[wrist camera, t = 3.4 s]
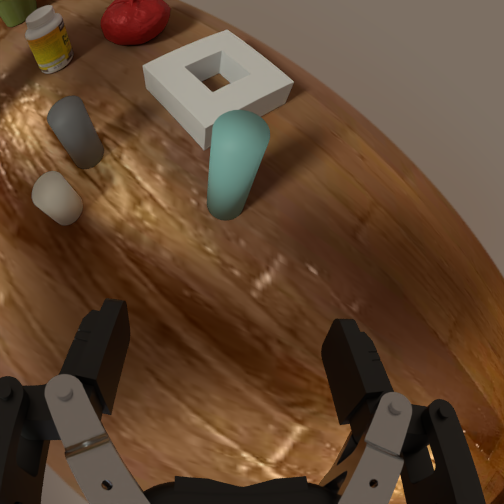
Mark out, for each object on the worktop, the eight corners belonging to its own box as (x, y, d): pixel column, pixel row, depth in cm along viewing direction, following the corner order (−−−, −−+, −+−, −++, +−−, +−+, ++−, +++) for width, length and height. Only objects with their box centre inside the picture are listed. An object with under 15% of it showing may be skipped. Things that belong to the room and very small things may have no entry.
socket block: (204, 150, 30) (205, 128, 26) (146, 88, 31) (142, 65, 27) (285, 103, 33) (294, 81, 30) (224, 51, 34) (227, 29, 30)
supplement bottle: (76, 63, 31) (59, 10, 21) (42, 81, 29) (19, 31, 19) (71, 45, 31) (56, -3, 21) (40, 62, 30) (20, 16, 20)
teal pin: (222, 227, 29) (237, 166, 17) (199, 199, 29) (200, 126, 17) (251, 205, 30) (281, 137, 18) (228, 179, 30) (244, 102, 18)
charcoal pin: (82, 175, 28) (54, 134, 20) (69, 154, 28) (42, 112, 20) (109, 155, 28) (88, 109, 21) (95, 135, 29) (74, 89, 21)
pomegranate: (144, 59, 32) (138, 5, 23) (92, 48, 32) (79, 1, 23) (183, 24, 35) (184, -25, 26) (132, 14, 34) (127, -30, 25)
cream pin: (62, 232, 26) (40, 216, 21) (48, 207, 26) (26, 188, 21) (88, 210, 27) (70, 190, 22) (73, 185, 27) (55, 163, 22)
